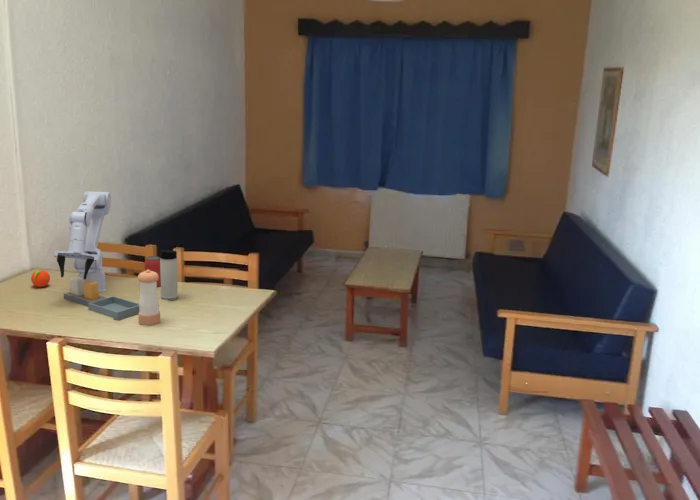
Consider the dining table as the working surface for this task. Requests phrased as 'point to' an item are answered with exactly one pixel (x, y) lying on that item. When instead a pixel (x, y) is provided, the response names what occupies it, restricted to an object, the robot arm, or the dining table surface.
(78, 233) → the robot arm
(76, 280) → the fuse
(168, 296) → the travel mug
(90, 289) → the orange rectangular block
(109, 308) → the parts tray
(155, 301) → the pepper shaker
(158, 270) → the beer can
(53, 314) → the dining table surface
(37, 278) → the clementine
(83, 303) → the block
